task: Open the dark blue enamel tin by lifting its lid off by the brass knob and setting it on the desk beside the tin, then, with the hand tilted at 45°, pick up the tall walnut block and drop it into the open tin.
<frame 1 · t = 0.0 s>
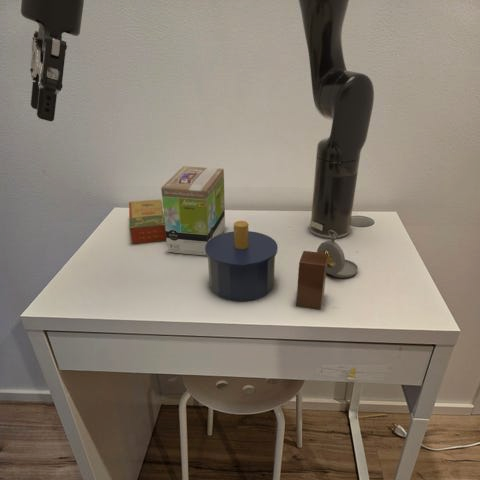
hand: (41, 114, 65), 31 cm above the table, tool tilted 20°, fingers open, 8 cm apart
pocket watch: (335, 273, 88), on the table
block: (310, 301, 80), on the table
tea box: (198, 240, 101), on the table
tin lid: (241, 249, 81), point 7 cm above the table, touching tin
carton: (148, 229, 107), on the table
tin: (241, 283, 85), on the table
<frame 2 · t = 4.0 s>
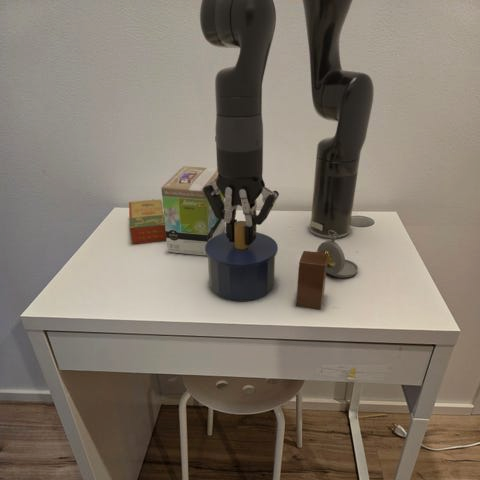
hand: (241, 241, 80), 9 cm above the table, tool pointing down, fingers closed on tin lid, 2 cm apart
tin lid: (241, 249, 81), point 8 cm above the table, touching gripper, tin
everything else where it was.
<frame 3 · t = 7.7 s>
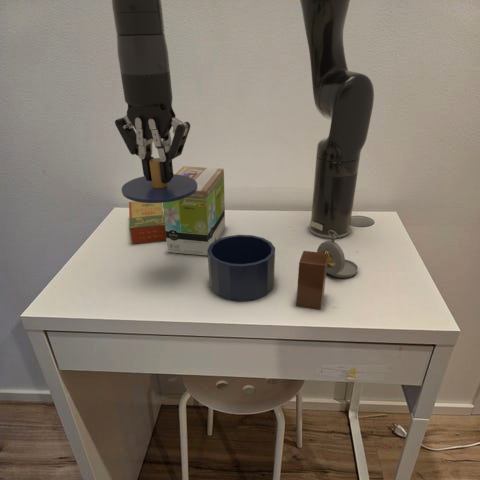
hand: (158, 180, 77), 19 cm above the table, tool pointing down, fingers closed on tin lid, 2 cm apart
tin lid: (160, 189, 78), point 18 cm above the table, touching gripper
everything else where it was.
when the fingers open (2 cm above the table, at t = 11.5 s): tin lid stays where it is, point 1 cm above the table.
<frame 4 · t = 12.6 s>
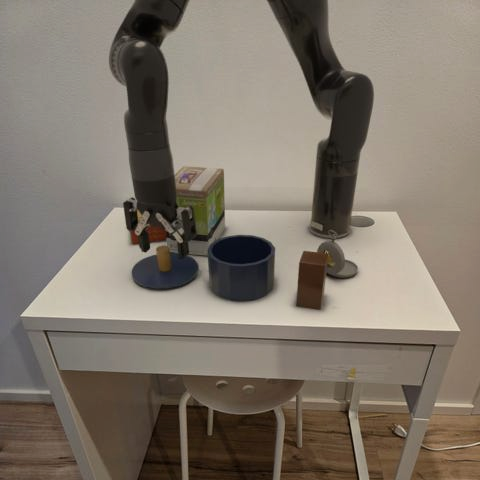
hand: (164, 254, 86), 4 cm above the table, tool pointing down, fingers open, 8 cm apart
tin lid: (165, 270, 89), point 1 cm above the table
everything else where it was.
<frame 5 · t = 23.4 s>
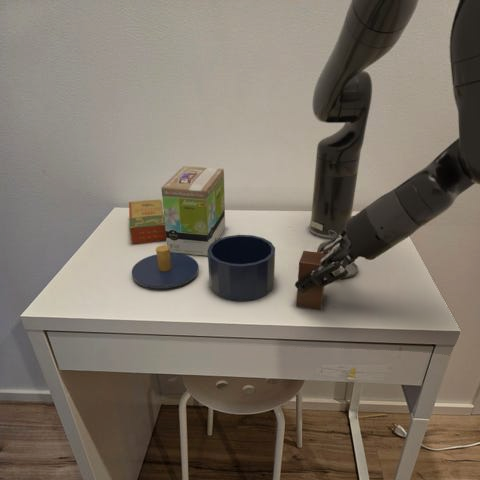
hand: (301, 280, 78), 4 cm above the table, tool tilted 45°, fingers closed on block, 4 cm apart
block: (309, 301, 80), on the table, touching gripper
everything else where it was.
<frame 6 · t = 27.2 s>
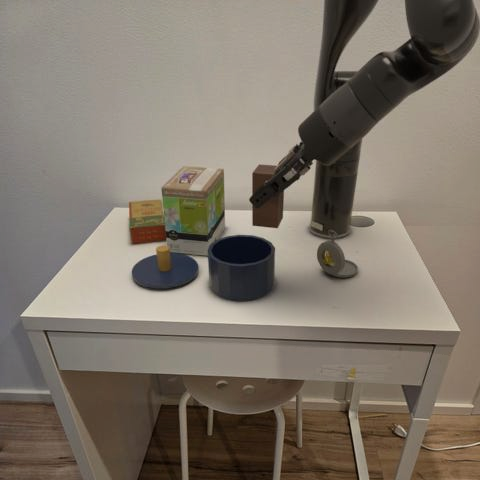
hand: (257, 198, 73), 18 cm above the table, tool tilted 45°, fingers closed on block, 4 cm apart
block: (267, 221, 75), point 14 cm above the table, touching gripper
everything else where it was.
when the fingers open (9 cm above the table, at t = 31.1 s): block drops 4 cm, resting on tin.
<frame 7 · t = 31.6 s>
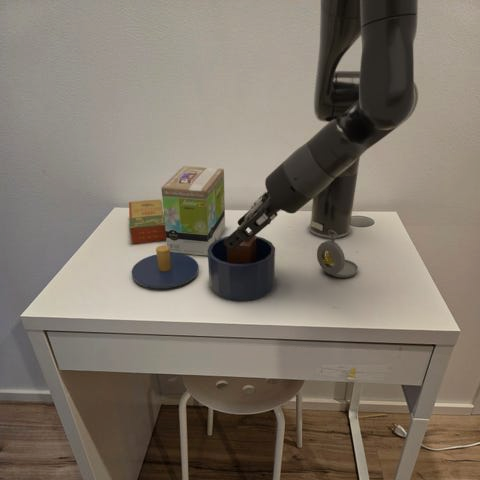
hand: (234, 235, 80), 10 cm above the table, tool tilted 45°, fingers open, 8 cm apart
block: (242, 281, 85), point 1 cm above the table, touching tin
everything else where it was.
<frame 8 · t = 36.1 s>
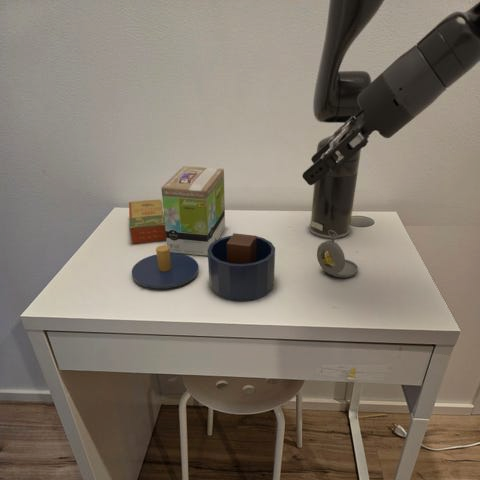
hand: (310, 171, 69), 23 cm above the table, tool tilted 45°, fingers open, 8 cm apart
nothing on the table moved.
at the end: tin lid inside the target area (0.0 cm from its centre), point 0.6 cm above the table; tin lid tilted 0°; block inside the target area in the tin (0.1 cm from its centre), point 0.5 cm above the tin's base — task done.
